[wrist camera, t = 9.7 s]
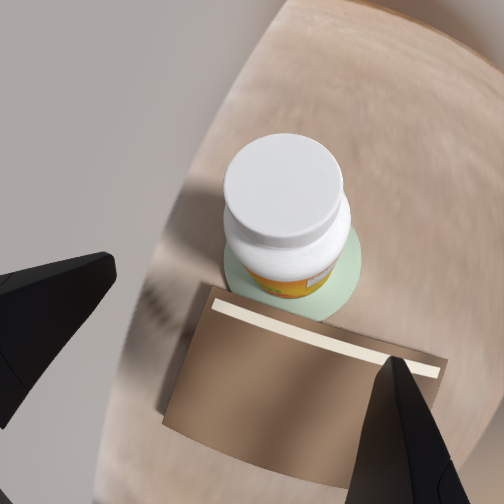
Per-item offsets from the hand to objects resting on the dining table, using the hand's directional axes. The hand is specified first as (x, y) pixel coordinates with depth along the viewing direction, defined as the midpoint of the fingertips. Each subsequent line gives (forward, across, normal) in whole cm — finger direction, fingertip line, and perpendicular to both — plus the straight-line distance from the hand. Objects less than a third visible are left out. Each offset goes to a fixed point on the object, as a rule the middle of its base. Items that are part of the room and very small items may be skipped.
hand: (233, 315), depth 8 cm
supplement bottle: (+10, 0, +4) cm, 11 cm away
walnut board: (+5, -4, +10) cm, 12 cm away
